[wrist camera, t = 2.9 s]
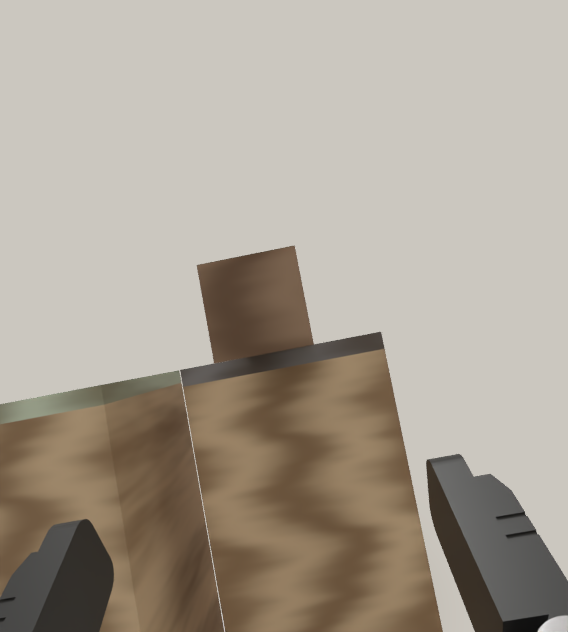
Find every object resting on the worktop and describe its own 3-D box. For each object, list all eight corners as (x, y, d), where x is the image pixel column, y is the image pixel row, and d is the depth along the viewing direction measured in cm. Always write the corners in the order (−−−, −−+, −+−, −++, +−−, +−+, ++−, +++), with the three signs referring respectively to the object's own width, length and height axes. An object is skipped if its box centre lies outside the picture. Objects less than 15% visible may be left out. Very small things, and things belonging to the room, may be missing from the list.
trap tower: (281, 953, 25) (180, 370, 28) (292, 737, 39) (224, 361, 42) (503, 924, 25) (380, 331, 27) (434, 715, 39) (357, 336, 41)
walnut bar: (214, 363, 18) (196, 265, 19) (269, 353, 42) (261, 310, 43) (313, 344, 18) (294, 245, 19) (312, 345, 42) (304, 301, 42)
